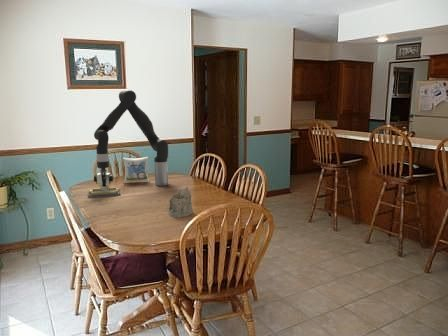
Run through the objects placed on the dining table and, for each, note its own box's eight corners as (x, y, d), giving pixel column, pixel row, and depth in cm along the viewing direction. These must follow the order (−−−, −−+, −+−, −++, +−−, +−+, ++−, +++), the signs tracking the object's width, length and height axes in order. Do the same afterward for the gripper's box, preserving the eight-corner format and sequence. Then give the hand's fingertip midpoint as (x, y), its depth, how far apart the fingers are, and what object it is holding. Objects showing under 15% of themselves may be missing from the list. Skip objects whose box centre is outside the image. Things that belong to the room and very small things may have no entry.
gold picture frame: (119, 190, 263) (119, 186, 262) (120, 195, 250) (120, 190, 249) (89, 192, 257) (89, 188, 257) (88, 197, 244) (88, 193, 244)
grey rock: (177, 206, 224) (176, 182, 220) (198, 212, 214) (197, 187, 210) (158, 214, 212) (156, 188, 208) (179, 221, 202) (178, 194, 199)
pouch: (124, 182, 289) (122, 156, 286) (149, 180, 293) (148, 155, 289) (123, 184, 282) (122, 157, 278) (149, 183, 285) (148, 156, 282)
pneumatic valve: (112, 190, 251) (111, 172, 248) (94, 191, 250) (93, 173, 248) (114, 188, 256) (113, 171, 254) (96, 188, 255) (95, 171, 253)
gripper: (108, 161, 244) (110, 187, 247) (108, 158, 257) (110, 182, 260) (96, 162, 242) (98, 188, 245) (97, 159, 255) (98, 183, 258)
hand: (104, 185), depth 253 cm, fingers closed on pneumatic valve, 5 cm apart
